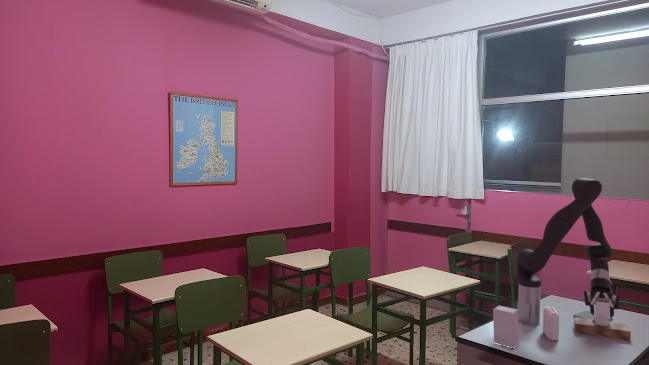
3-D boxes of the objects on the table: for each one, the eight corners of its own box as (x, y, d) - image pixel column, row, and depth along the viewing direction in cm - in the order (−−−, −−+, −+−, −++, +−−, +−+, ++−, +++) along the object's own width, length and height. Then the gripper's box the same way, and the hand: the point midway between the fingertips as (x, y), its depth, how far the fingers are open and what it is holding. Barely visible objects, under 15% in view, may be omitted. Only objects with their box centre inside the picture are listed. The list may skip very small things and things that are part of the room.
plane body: (626, 333, 195) (627, 324, 195) (630, 341, 187) (630, 331, 187) (574, 325, 204) (574, 316, 204) (575, 332, 196) (575, 323, 196)
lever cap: (607, 324, 197) (608, 296, 196) (608, 329, 191) (610, 300, 191) (593, 323, 199) (595, 295, 198) (595, 327, 194) (596, 299, 193)
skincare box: (519, 345, 181) (520, 309, 181) (512, 350, 177) (513, 313, 176) (498, 339, 187) (499, 304, 187) (492, 343, 183) (492, 307, 182)
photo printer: (541, 331, 197) (542, 303, 196) (552, 332, 196) (553, 304, 195) (548, 340, 187) (549, 311, 186) (559, 341, 186) (560, 312, 185)
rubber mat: (600, 324, 205) (600, 322, 205) (573, 316, 215) (573, 314, 215) (612, 319, 212) (612, 317, 212) (586, 312, 222) (586, 310, 222)
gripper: (582, 275, 204) (583, 308, 194) (620, 279, 198) (623, 314, 188) (581, 283, 209) (582, 317, 199) (618, 287, 203) (620, 322, 193)
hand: (602, 315), depth 193 cm, fingers open, 6 cm apart
